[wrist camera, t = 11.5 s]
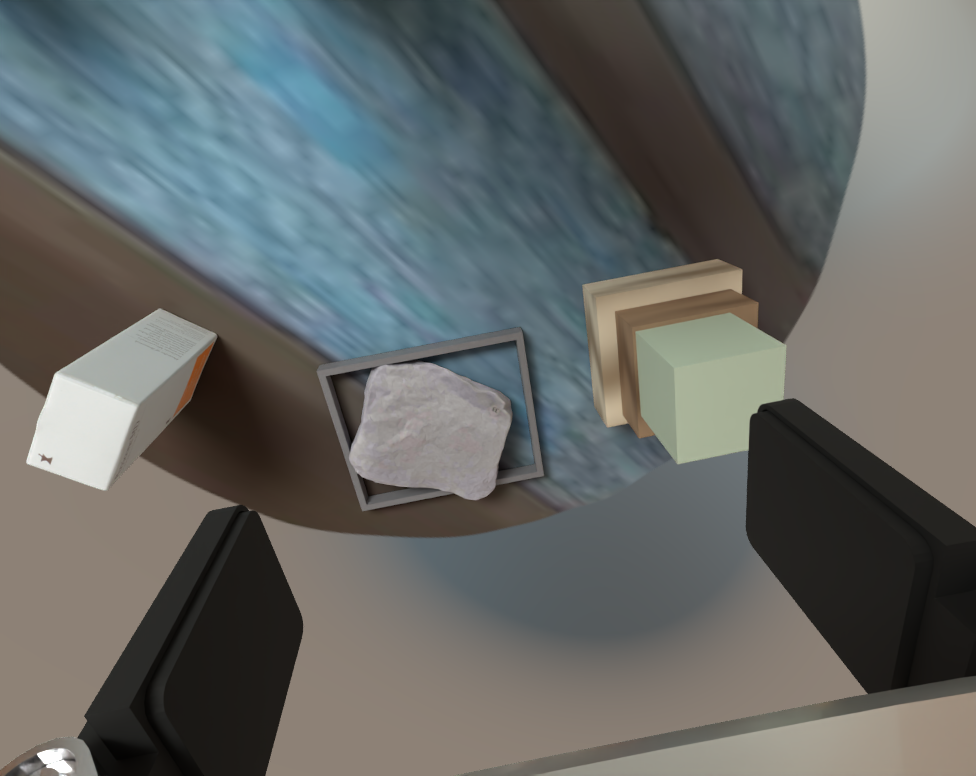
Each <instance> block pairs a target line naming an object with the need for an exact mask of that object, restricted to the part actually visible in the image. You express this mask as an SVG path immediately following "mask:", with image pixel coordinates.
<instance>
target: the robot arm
mask: <svg viewBox="0 0 976 776" xmlns="http://www.w3.org/2000/svg"><path fill="white" fill-rule="evenodd" d="M748 452H749V453H748V479H747V508H746V531H747V536H748V539H749V541H750V543H751V545H752V546H753V548H754V549H755V550H756V552H757V553H758V554H759V556H760V557H761V558H762V559H763V561H764V562H765V563H766V564H767V566H768V567H769V568H770V570H771V571H772V572H773V573H774V575H775V576H776V577H777V579H778V580H779V581H780V582H781V584H782V585H783V586H784V588H785V589H786V590H787V591H788V593H789V594H790V595H791V596H792V597H793V599H794V600H795V602H796V603H797V604H798V605H799V607H800V608H801V609H802V611H803V612H804V613H805V614H806V616H807V617H808V618H809V619H810V621H811V622H812V623H813V624H814V626H815V627H816V628H817V630H818V631H819V632H820V633H821V635H822V636H823V637H824V639H825V640H826V641H827V642H828V643H829V645H830V646H831V648H832V649H833V650H834V651H835V653H836V654H837V655H838V656H839V658H840V659H841V660H842V661H843V663H844V664H845V665H846V667H847V668H848V669H849V670H850V672H851V673H852V674H853V675H854V677H855V678H856V679H857V680H858V682H859V683H860V685H861V686H862V687H863V688H864V690H865V691H866V692H867V693H868V694H866V695H861V696H855V697H849V698H844V699H839V700H834V701H829V702H823V703H819V704H813V705H808V706H803V707H798V708H793V709H788V710H782V711H778V712H772V713H767V714H762V715H757V716H752V717H746V718H741V719H736V720H731V721H726V722H721V723H715V724H710V725H705V726H700V727H695V728H690V729H685V730H680V731H674V732H669V733H665V734H659V735H654V736H649V737H644V738H639V739H634V740H629V741H625V742H619V743H614V744H609V745H604V746H599V747H594V748H590V749H584V750H579V751H574V752H569V753H564V754H559V755H554V756H549V757H544V758H539V759H535V760H529V761H524V762H519V763H514V764H510V765H505V766H500V767H494V768H489V769H484V770H480V771H474V772H469V773H465V774H460V775H455V776H976V527H975V526H973V525H972V524H970V523H969V522H968V521H966V520H965V519H963V518H962V517H961V516H959V515H958V514H956V513H955V512H954V511H952V510H951V509H949V508H948V507H947V506H945V505H944V504H942V503H941V502H940V501H938V500H937V499H935V498H934V497H933V496H931V495H930V494H928V493H927V492H926V491H924V490H923V489H921V488H920V487H919V486H917V485H916V484H915V483H913V482H912V481H910V480H909V479H907V478H906V477H905V476H903V475H902V474H901V473H899V472H898V471H896V470H895V469H894V468H892V467H891V466H889V465H888V464H887V463H885V462H884V461H882V460H881V459H879V458H878V457H877V456H875V455H874V454H872V453H871V452H870V451H868V450H867V449H866V448H864V447H863V446H861V445H860V444H858V443H857V442H856V441H854V440H853V439H852V438H850V437H849V436H847V435H846V434H845V433H843V432H842V431H840V430H839V429H838V428H836V427H835V426H833V425H832V424H830V423H829V422H828V421H826V420H825V419H824V418H822V417H821V416H819V415H818V414H816V413H815V412H814V411H812V410H811V409H809V408H808V407H807V406H805V405H804V404H803V403H801V402H800V401H798V400H796V399H786V400H781V401H775V402H770V403H765V404H762V405H760V406H759V408H758V411H757V413H754V414H752V415H751V417H750V423H749V451H748ZM302 634H303V620H302V616H301V613H300V610H299V608H298V606H297V603H296V601H295V598H294V596H293V594H292V591H291V589H290V587H289V585H288V582H287V580H286V577H285V575H284V573H283V570H282V568H281V566H280V563H279V561H278V558H277V556H276V554H275V551H274V549H273V547H272V545H271V542H270V540H269V537H268V535H267V533H266V530H265V528H264V526H263V523H262V521H261V518H260V516H259V514H258V513H257V512H256V511H249V510H248V509H247V508H246V507H245V506H243V505H238V506H233V507H227V508H222V509H217V510H212V511H210V512H208V514H207V515H206V516H205V518H204V519H203V521H202V523H201V525H200V526H199V528H198V529H197V531H196V533H195V534H194V536H193V538H192V539H191V541H190V542H189V544H188V546H187V548H186V549H185V551H184V552H183V554H182V556H181V557H180V559H179V561H178V562H177V564H176V566H175V567H174V569H173V571H172V572H171V574H170V575H169V577H168V579H167V580H166V582H165V584H164V586H163V587H162V589H161V590H160V592H159V594H158V595H157V597H156V599H155V600H154V602H153V603H152V605H151V607H150V609H149V610H148V612H147V613H146V615H145V617H144V618H143V620H142V622H141V624H140V625H139V627H138V628H137V630H136V632H135V633H134V635H133V636H132V638H131V640H130V641H129V643H128V645H127V647H126V648H125V650H124V651H123V653H122V655H121V656H120V658H119V660H118V661H117V663H116V664H115V666H114V668H113V669H112V671H111V673H110V675H109V676H108V678H107V679H106V681H105V683H104V684H103V686H102V688H101V689H100V691H99V692H98V694H97V696H96V697H95V699H94V701H93V702H92V704H91V706H90V708H89V709H88V711H87V713H86V714H85V716H84V717H85V718H86V719H87V723H86V724H85V726H84V728H83V730H82V731H81V733H80V734H79V736H78V738H74V737H63V738H56V739H53V740H50V741H47V742H45V743H42V744H39V745H37V746H35V747H33V748H31V749H30V750H28V751H26V752H25V753H23V754H21V755H19V756H18V757H16V758H15V759H13V760H12V761H11V762H10V763H8V764H7V765H6V766H4V767H3V768H2V769H0V776H265V774H266V771H267V767H268V763H269V759H270V756H271V752H272V748H273V744H274V741H275V737H276V733H277V729H278V726H279V722H280V718H281V714H282V710H283V707H284V703H285V699H286V695H287V691H288V688H289V684H290V680H291V677H292V672H293V669H294V665H295V661H296V657H297V654H298V650H299V646H300V643H301V639H302Z"/></svg>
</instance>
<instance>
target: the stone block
mask: <svg viewBox="0 0 976 776" xmlns="http://www.w3.org/2000/svg"><path fill="white" fill-rule="evenodd" d="M364 394H365V400H364V407H363V411H362V416H361V424H360V426H359V429H358V431H357V434H356V436H355V439H354V442H353V443H352V446H351V451H350V454H349V460H350V463H351V465H353V467H354V469H355V471H356V472H357V473H358V474H359V475H360V476H361V477H363V478H366V479H369V480H372V481H374V482H376V483H381V484H386V485H395V486H400V487H412V488H419V487H423V488H434V489H439V490H442V491H445V492H452V493H454V494H457V495H459V496H461V497H463V498H465V499H469V500H478V499H481V498H484V497H486V496H488V495H489V494H490V493H491V492H492V491H493V490H494V489H495V485H496V478H497V474H498V463H499V460H500V457H501V453H502V450H503V448H504V444H505V440H506V436H507V434H508V431H509V428H510V425H511V422H512V413H513V412H512V409H511V401H510V400H509V398H508V397H506V396H505V395H504V394H502V393H501V392H500V391H498V390H495V389H493V388H490V387H487V386H485V385H482V384H480V383H477V382H474V381H472V380H470V379H469V378H467V377H463V376H460V375H458V374H456V373H454V372H452V371H450V370H449V369H446V368H443V367H440V366H438V365H435V364H433V363H424V362H423V361H419V360H410V361H406V362H398V363H392V364H387V365H382V366H377V367H372V369H371V372H370V375H369V378H368V380H367V385H366V389H365V392H364Z"/></svg>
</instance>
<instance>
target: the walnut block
mask: <svg viewBox="0 0 976 776" xmlns="http://www.w3.org/2000/svg"><path fill="white" fill-rule="evenodd" d="M725 313H732V314H734V315H735V316H737V317H739V318H740V319H742V320H744V321H745V322H747V323H749V324H751V325H752V326H754V327H756V328H757V329H758V302H756V301H754V300H752V299H750V298H748V297H746V296H744V295H742V294H740V293H738V292H736V291H734V290H732V289H727V290H722V291H717V292H712V293H707V294H701V295H696V296H691V297H686V298H681V299H676V300H671V301H665V302H660V303H655V304H650V305H645V306H640V307H635V308H629V309H624V310H619V311H615V320H616V333H617V346H618V360H619V373H620V386H621V400H622V413H623V416H624V418H625V419H626V420H627V422H628V423H629V425H630V426H631V428H632V429H633V430H634V432H635V433H636V435H637V436H638V438H643V437H648V436H653V435H655V434H654V432H653V431H652V430H651V428H650V427H649V426H648V424H647V423H646V422H645V420H644V419H643V418H642V417H641V408H640V393H639V378H638V363H637V348H636V333H635V331H640V330H645V329H650V328H655V327H660V326H665V325H670V324H675V323H680V322H685V321H690V320H695V319H700V318H705V317H710V316H715V315H720V314H725Z"/></svg>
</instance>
